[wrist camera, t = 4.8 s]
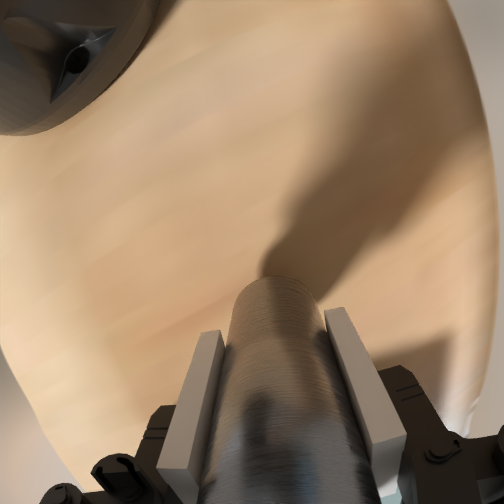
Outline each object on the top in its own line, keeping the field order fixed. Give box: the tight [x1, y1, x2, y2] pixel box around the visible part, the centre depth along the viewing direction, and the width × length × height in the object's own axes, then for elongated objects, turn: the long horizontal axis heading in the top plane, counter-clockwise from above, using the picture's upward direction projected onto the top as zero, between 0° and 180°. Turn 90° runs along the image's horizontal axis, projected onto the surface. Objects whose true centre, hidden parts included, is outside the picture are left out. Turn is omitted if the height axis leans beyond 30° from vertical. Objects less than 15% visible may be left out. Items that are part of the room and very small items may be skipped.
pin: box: [196, 276, 382, 504], centre depth 8 cm, size 4×4×14 cm
